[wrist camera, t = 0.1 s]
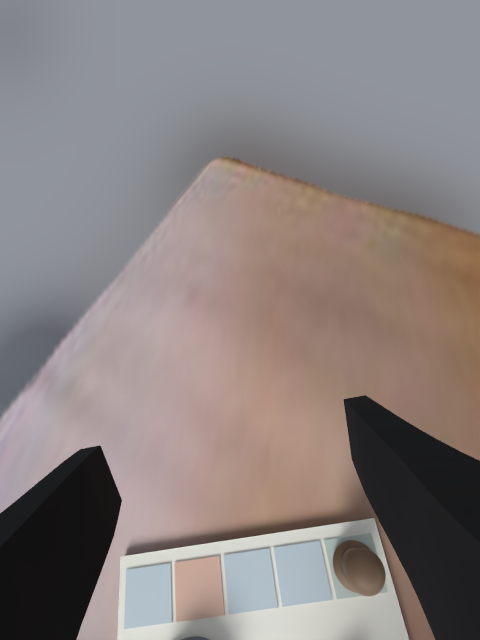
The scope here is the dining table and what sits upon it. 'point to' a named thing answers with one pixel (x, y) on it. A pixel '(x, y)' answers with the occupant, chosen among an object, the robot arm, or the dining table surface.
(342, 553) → the pawn
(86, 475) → the robot arm
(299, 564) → the game board
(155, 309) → the dining table surface
